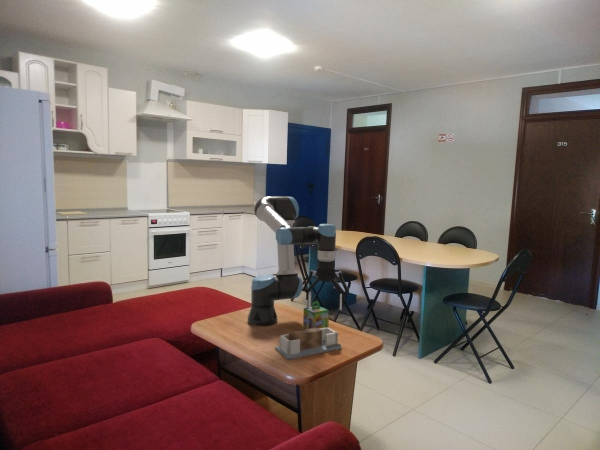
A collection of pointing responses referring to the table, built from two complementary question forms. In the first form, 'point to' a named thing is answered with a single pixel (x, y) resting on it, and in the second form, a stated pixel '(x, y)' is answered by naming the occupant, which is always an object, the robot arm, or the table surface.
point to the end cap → (329, 336)
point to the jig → (292, 348)
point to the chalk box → (315, 317)
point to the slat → (307, 337)
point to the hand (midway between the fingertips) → (325, 308)
